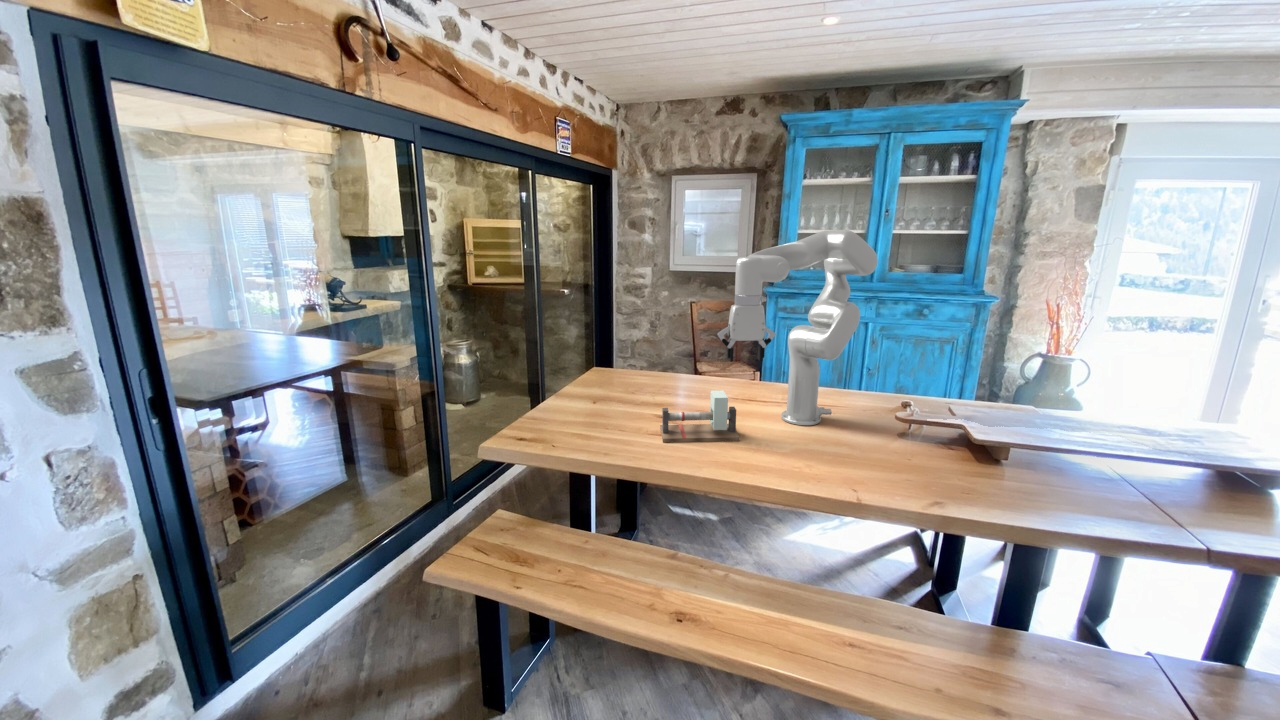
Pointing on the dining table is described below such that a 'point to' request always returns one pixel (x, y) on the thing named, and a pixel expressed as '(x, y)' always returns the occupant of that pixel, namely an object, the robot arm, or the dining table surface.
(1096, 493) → the dining table surface
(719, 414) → the sleeve block
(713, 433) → the rod stand
